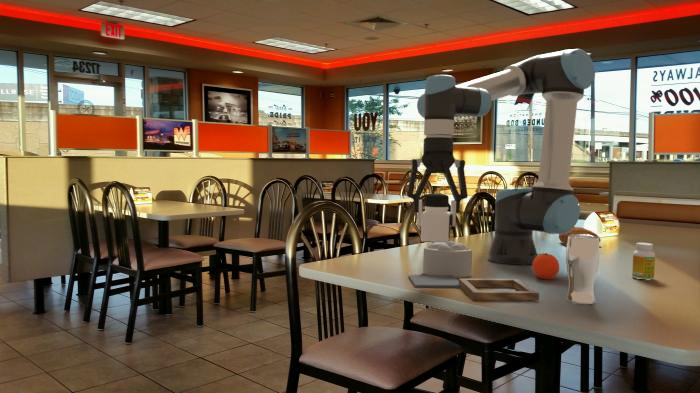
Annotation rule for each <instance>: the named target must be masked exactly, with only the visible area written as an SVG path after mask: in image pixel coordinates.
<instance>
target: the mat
mask: <svg viewBox="0 0 700 393" xmlns="http://www.w3.org/2000/svg"><path fill="white" fill-rule="evenodd" d="M408 279H409V280H410V281H411V283H412V285H413V286H414V287H415V288H435V289H436V288H438V289H439V288H441V289H442V288H444V289H445V288H447V289H452V288H453V289H455V288H457V289H458V288H459V289H460V288H461V285H460V284H459V279H457V277H454V276H453V275H427V274H422V275H421V274H409V275H408ZM461 289H462V288H461Z"/></svg>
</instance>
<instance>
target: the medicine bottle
mask: <svg viewBox="0 0 700 393" xmlns="http://www.w3.org/2000/svg"><path fill="white" fill-rule="evenodd" d="M449 199H450V197H449V195H447V194H445V193H428V194H426V195H425V196H424V210H425V211H422V215H421V226H420V241H421V242H432V243H434V242H444V243H447V242H449V241H450V239H451V225H450V219H451V211H448V210H449Z"/></svg>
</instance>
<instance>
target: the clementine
mask: <svg viewBox="0 0 700 393" xmlns="http://www.w3.org/2000/svg"><path fill="white" fill-rule="evenodd" d="M531 265H532V266H531V267H532V270H533V273H534V274H535V276H537V277H538V278H540V279H543V280H551V279H553V278H555V277H556V276H557V275H558V274H559V271H560V263H559V260H558V259H557V258H556V256H554V255H553V254H550V253H547V252H543V253H542V252H541V253H537V255H536V257H535V259H534V261H533V264H531Z"/></svg>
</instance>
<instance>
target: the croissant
mask: <svg viewBox="0 0 700 393" xmlns="http://www.w3.org/2000/svg"><path fill="white" fill-rule="evenodd" d="M568 235H591V236H597V237H599V243H600V242H601V238H600V236H599V235H598V234H596V233H595V232H594V231H592V230H589V229H586V228H584V227H581V226H574V227H573V228H572V229H571V230H570V231H569V232H567V233H565V234H558V239H559V241H560V242H561V243H562V244H564V245H566V246H567V240H568Z"/></svg>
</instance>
